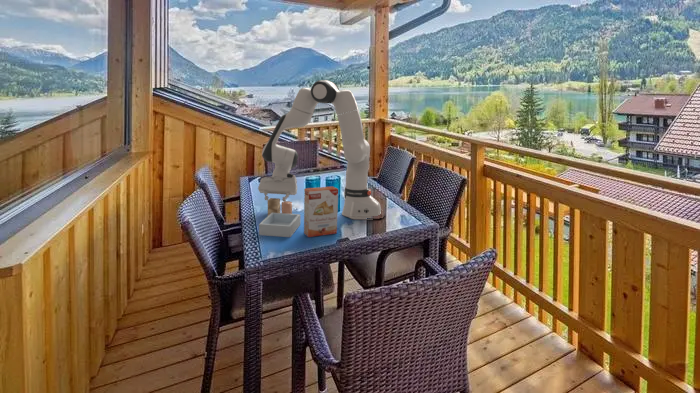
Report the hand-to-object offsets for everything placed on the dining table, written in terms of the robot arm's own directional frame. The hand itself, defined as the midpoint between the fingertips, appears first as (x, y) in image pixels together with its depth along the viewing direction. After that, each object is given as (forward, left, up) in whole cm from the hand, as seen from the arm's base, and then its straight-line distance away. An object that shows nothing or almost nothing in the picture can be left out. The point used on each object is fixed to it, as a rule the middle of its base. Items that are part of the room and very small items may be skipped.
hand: (275, 200), depth 207 cm
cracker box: (-29, +26, -7) cm, 40 cm away
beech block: (0, +2, -7) cm, 7 cm away
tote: (-10, +24, -7) cm, 27 cm away
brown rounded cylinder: (-9, +10, -7) cm, 15 cm away
